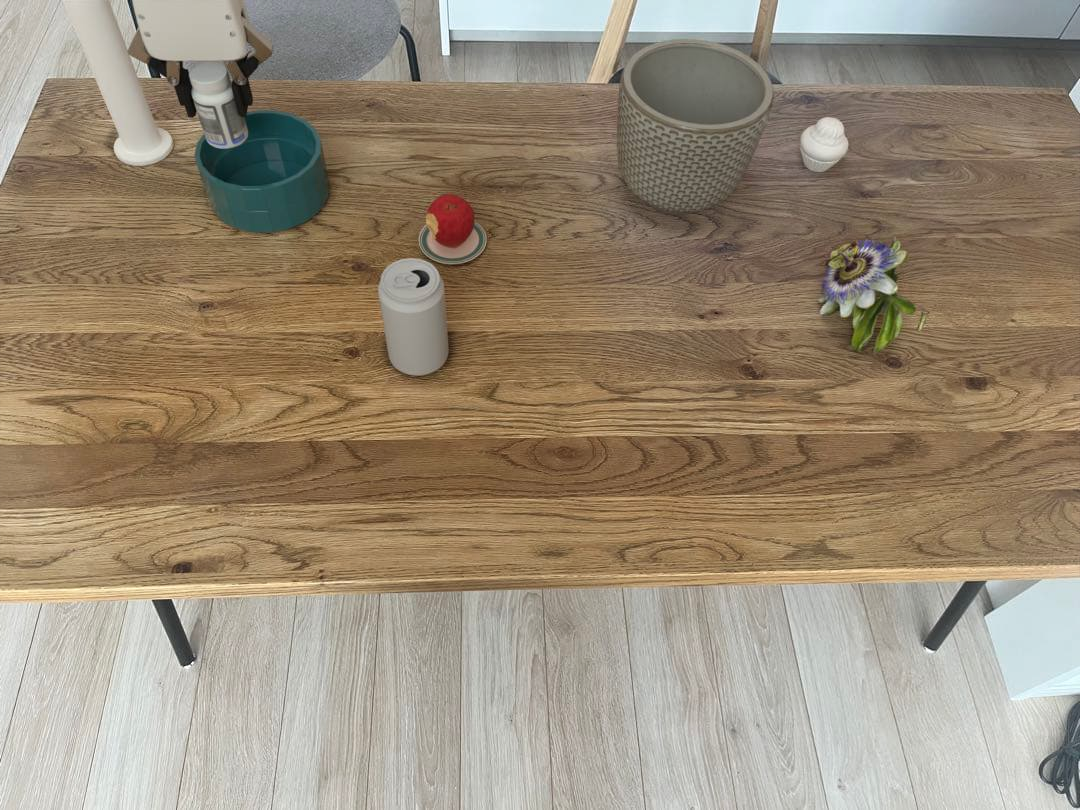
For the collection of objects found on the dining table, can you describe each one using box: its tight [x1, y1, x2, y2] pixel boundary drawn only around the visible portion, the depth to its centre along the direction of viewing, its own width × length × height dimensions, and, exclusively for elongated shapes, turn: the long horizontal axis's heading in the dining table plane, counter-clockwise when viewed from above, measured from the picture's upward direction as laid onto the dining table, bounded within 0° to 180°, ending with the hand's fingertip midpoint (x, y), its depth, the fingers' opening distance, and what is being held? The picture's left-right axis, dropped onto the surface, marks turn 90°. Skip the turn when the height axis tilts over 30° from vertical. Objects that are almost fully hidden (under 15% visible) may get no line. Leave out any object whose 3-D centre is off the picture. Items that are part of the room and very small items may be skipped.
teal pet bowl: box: [193, 109, 330, 233], centre depth 103 cm, size 14×14×7 cm
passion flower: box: [816, 235, 930, 354], centre depth 96 cm, size 11×11×12 cm
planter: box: [616, 38, 775, 216], centre depth 103 cm, size 17×17×16 cm
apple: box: [418, 193, 487, 265], centre depth 100 cm, size 8×8×6 cm
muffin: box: [799, 116, 849, 173], centre depth 112 cm, size 6×6×7 cm
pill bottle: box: [188, 61, 248, 149], centre depth 95 cm, size 5×5×8 cm
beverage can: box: [377, 257, 450, 376], centre depth 88 cm, size 6×6×12 cm
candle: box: [61, 0, 174, 167], centre depth 100 cm, size 7×7×25 cm
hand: (218, 108), depth 96 cm, fingers closed on pill bottle, 4 cm apart
